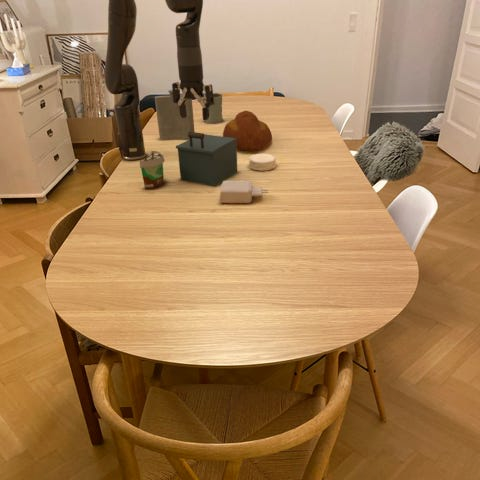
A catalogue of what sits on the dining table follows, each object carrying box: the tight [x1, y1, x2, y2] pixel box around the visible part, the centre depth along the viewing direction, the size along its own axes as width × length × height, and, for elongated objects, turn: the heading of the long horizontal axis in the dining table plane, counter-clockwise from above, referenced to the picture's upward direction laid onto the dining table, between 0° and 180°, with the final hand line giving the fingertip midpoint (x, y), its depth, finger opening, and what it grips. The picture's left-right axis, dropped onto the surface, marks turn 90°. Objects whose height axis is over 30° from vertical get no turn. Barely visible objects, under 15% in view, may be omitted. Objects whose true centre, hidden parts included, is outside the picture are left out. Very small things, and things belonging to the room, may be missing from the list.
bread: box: [222, 110, 273, 152], centre depth 199 cm, size 21×33×12 cm, turn 3°
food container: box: [139, 150, 165, 190], centre depth 162 cm, size 12×6×10 cm, turn 168°
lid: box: [175, 131, 236, 154], centre depth 162 cm, size 16×15×6 cm
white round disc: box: [248, 153, 277, 172], centre depth 176 cm, size 10×10×4 cm
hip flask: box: [154, 89, 196, 141], centre depth 205 cm, size 16×4×20 cm, turn 88°
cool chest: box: [177, 141, 238, 187], centre depth 168 cm, size 16×15×11 cm
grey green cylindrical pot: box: [204, 92, 223, 124], centre depth 230 cm, size 10×10×12 cm
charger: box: [220, 180, 270, 204], centre depth 152 cm, size 5×9×15 cm
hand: (194, 118), depth 154 cm, fingers open, 8 cm apart
